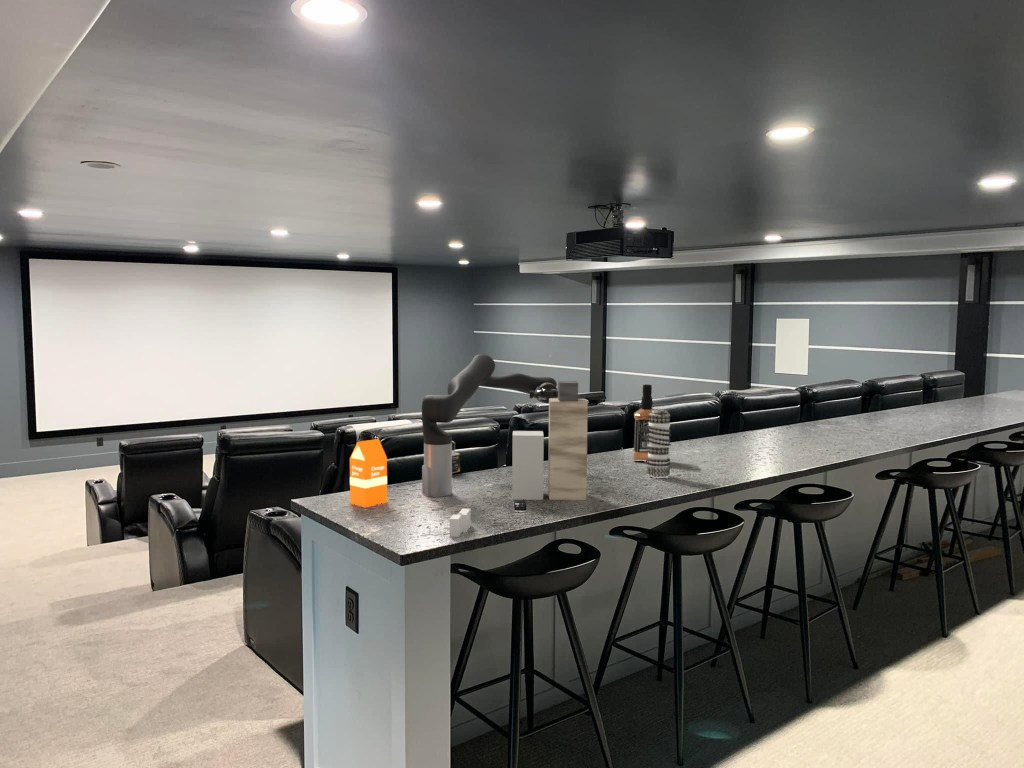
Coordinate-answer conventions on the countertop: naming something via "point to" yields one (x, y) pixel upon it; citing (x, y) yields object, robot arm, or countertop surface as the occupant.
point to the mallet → (567, 390)
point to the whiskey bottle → (642, 425)
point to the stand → (567, 450)
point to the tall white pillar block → (527, 465)
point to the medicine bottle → (455, 460)
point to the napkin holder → (460, 522)
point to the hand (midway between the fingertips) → (549, 395)
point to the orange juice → (368, 474)
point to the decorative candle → (658, 443)
